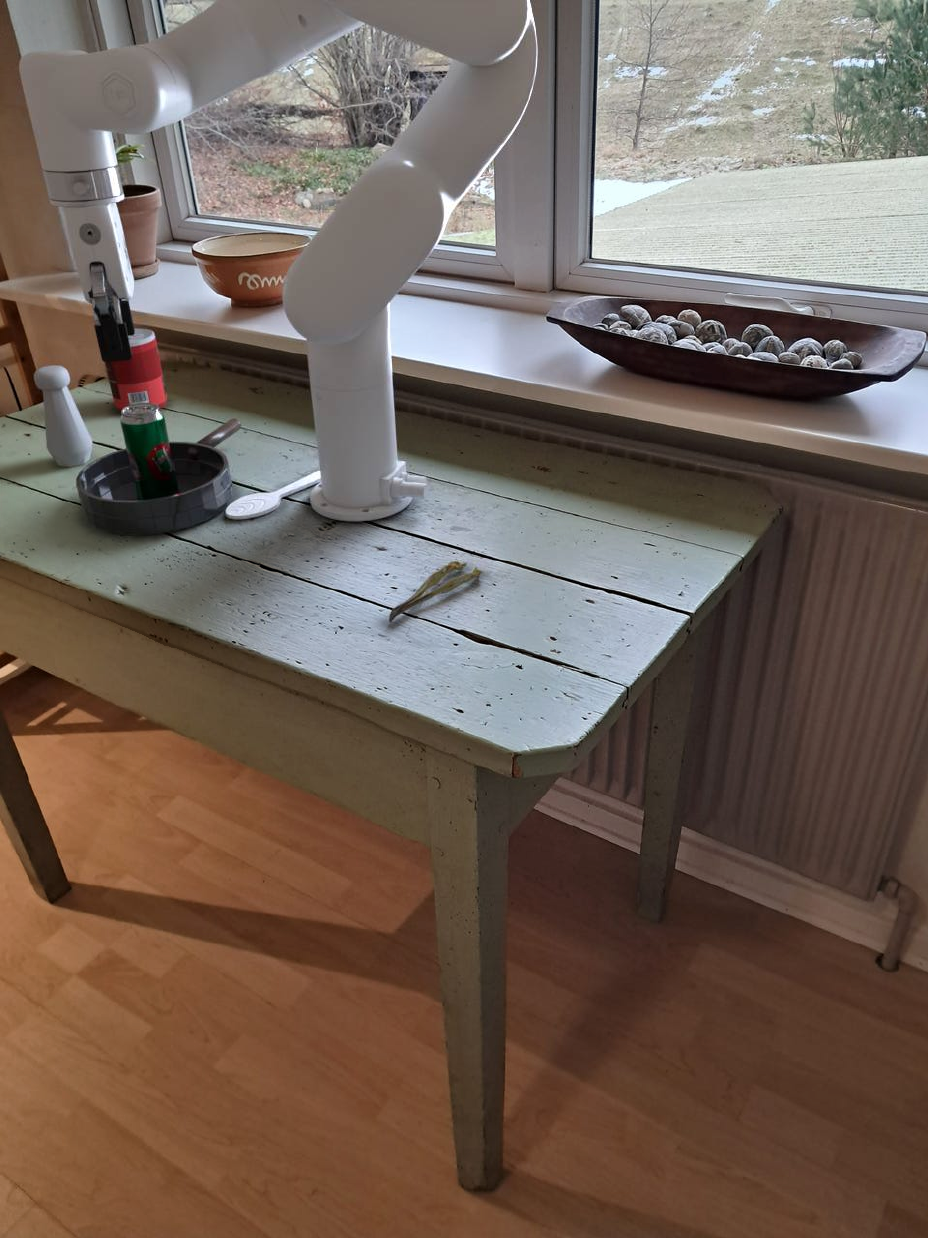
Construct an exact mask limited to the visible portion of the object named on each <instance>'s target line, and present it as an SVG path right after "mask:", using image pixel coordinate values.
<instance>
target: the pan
mask: <svg viewBox="0 0 928 1238" xmlns="http://www.w3.org/2000/svg"><path fill="white" fill-rule="evenodd" d="M169 443H170V448H171V453H172V458H173V463H174V468H175V473H176V478H177V483H178V488H179V493H180V494H176V495H173V496H169V497H163V498H157V499H151V500H138V498H137V494H136V489H135V485H134V480H133V476H132V472H131V467H130V463H129V459H128V454H127V450H126V447H125V448H122V449H118V450H116V451H112V452H109V453H107V454H105V455H103V456H100V457H98V458H96V459H94V460H93V461H91V462H90V463H88V464H86V466H84V467H83V468H82V469H81V470H80V471H79V472H78V474H77V476H76V477H75V485H76V490H77V493H78V494H77V495H78V496H79V501H80V506H81V509H82V513H83V516H84V518H85V519H86V521H87V523H88V524H90V525H91V526H93V527H95V528H96V529H99V530H101V531H104V532H108V533H113V534H117V535H125V536H152V535H160V534H167V533H172V532H177V531H181V530H185V529H188V528H191V527H194V526H197V525H199V524H201V523H204V522H206V521H208V520H210V519H212V518H213V517H215V516H217V515H218V514H220V513H221V512H222V511H224V510H225V508H226V509H227V508H228V506H229V505H230V504H231V503H232V500H233V496H234V488H233V482H232V476H231V475H232V474H231V469H230V463H229V460H228V458H227V455H226V454H225V453H224V452H222V451H221V450H220V449H218V448H216V447H211V446H207V445H204V444H199V443H197V442H191V441H190V442H189V441H169ZM191 447H193V448H195V449H196V450H197V451H198V453H199V458H198V459H196V460H194V459H191V458H190V457H189V456H188V453H187V451H188V449H189V448H191Z"/></svg>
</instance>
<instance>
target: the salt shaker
mask: <svg viewBox="0 0 928 1238" xmlns="http://www.w3.org/2000/svg"><path fill="white" fill-rule="evenodd" d="M33 381H34V383H35V386H36V387H37V389H38V390H42V397H43V411H44V413H43V414H44V426H45V441H46V449H47V451H48V453H49V454H50V455H51V457H52V458H53V459H54V461H55V462H56V463H57V465H58V466H59V467H66V468H74V467H78V466H81V465H85V464H86V463H87V462H88V461H89V460H90V459H91V455H92V449H93V439H92V437H91V435H90V432H89V430H88V429H87V426H86V424H85V422H84V420H83V417H82V416H81V413H80V411H79V408H78V407H77V405H76V402H75V400H74V398H73V396H72V394H71V392H70V389H69V388H68V385H69V384H70V383H71V377H70V374H69V371H68V370H67V369H66V368H65V367H64V366H62V365H46V366H42V367H40V368H38V369H36V370H35V371H34V373H33Z"/></svg>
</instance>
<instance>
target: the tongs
mask: <svg viewBox="0 0 928 1238" xmlns="http://www.w3.org/2000/svg"><path fill="white" fill-rule="evenodd" d="M467 565H468V563H467V562H464V563H461V561H458V560H453V561H452V560H451V561H450V562H449V563H448V564H447V565H444V566H443V567H441V568H440V569H438V570H436V571H434V572H433V573H432V574H431V575H429V577H427V578H426V580H425V581H424V582H423V583H422V584H421V585H420V587H419V588H418V589H417V591H415V593H414V594H412V595H411V596H410V597H409V598H407V600H406V601H404V602H402V603H400V604H398V605H396V606H395V607H393V609H391V611H390V613H389V617H388V621H389V624H392V623H393V621H394V620H395V618H396V617H398V616H400V615H402V614H403V613H405V612H406V611H408V610H410V609H411V608H413V607H416V606H417V605H420V604H422V603H424V602H426V601H429V600H431V599H432V598H434V597H435V596H437V595H440V594H443V593H445V592H446V593H447V592H451V591H453V590H455V589H457V588H458V587H460V586H462V585H464V584H466V583H468V582H470V581H472V580H473V579H475V578H480V576H481V575H482V574H483V573H484V571H483V570H482V569H479V568H478V567H477V566H474V569H473V571H472V572H466V573H464V574H462V575H460V576H456V577H453V578H450V580H448V581H447V582H445V583H443V584H442V585H440V586H438V587H437V588H435V589H433V590H431V591H428V592H426V591H427V590H429V589H430V588H432V587H435V586H437V585H438V584H439V583H440V582H441V580H442V579H443V578H444V577H446V576H447V575H449V574H450V573H453V572H455V571H462V570H463V569H465V568H466V567H467ZM425 592H426V593H425Z"/></svg>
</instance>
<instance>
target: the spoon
mask: <svg viewBox="0 0 928 1238" xmlns="http://www.w3.org/2000/svg"><path fill="white" fill-rule="evenodd" d="M320 482H321V476H320V469H319V470H317V471H314V472H311V474H308V475H306V476H304V477H301V478H300V479H298V480H295V482H293V481H292V483H290V484H287V485H285V486H284V487H282V488H278V489H277V490H275V491H274V490H273V491H269V492H268V491H265V492H264V491H263V492H260V491H259V492H254V493H249V494H247V495H243V496H241V497H239V498H237V499H235V500H234V501H231V502H230V503H229V504H228V506H227V507H226V509H225V516H226V517H227V518H228V519H230V520H231V519H232V520H246V519H247V520H248V519H252V518H257V517H261V516H264V515H267V514H268V513H271V512H273V511H275V510H276V509H278V508H279V506H280V505H281V499H283V498H284V497H287V496H289V495H292V494H294V493H295V494H296V493H297V492H299V491H301V490H305V489H307V488H308V487H311V486H314V485H317V484H319V483H320Z"/></svg>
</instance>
